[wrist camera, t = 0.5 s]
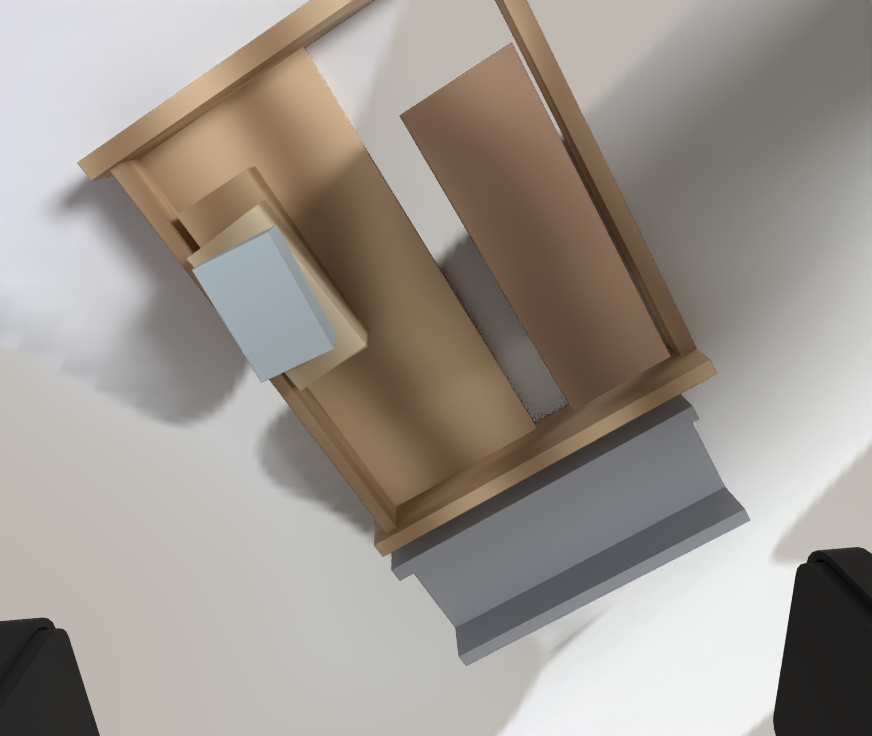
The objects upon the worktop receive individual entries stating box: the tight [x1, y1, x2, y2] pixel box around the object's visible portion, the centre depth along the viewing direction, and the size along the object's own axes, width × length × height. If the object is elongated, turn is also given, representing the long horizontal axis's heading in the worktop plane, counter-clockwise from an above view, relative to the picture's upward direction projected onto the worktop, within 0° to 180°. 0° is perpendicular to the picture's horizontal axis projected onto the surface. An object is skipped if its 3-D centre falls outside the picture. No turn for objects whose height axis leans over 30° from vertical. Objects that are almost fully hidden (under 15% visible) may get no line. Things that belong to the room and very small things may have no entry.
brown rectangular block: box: [400, 43, 671, 411], centre depth 27 cm, size 4×12×9 cm, turn 31°
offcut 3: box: [192, 225, 337, 382], centre depth 26 cm, size 3×5×2 cm, turn 25°
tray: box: [77, 0, 717, 557], centre depth 30 cm, size 18×22×3 cm
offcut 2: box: [187, 200, 368, 391], centre depth 28 cm, size 4×7×2 cm, turn 35°
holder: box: [391, 394, 750, 666], centre depth 36 cm, size 17×8×3 cm, turn 121°
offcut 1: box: [177, 166, 369, 365], centre depth 30 cm, size 4×9×2 cm, turn 31°
